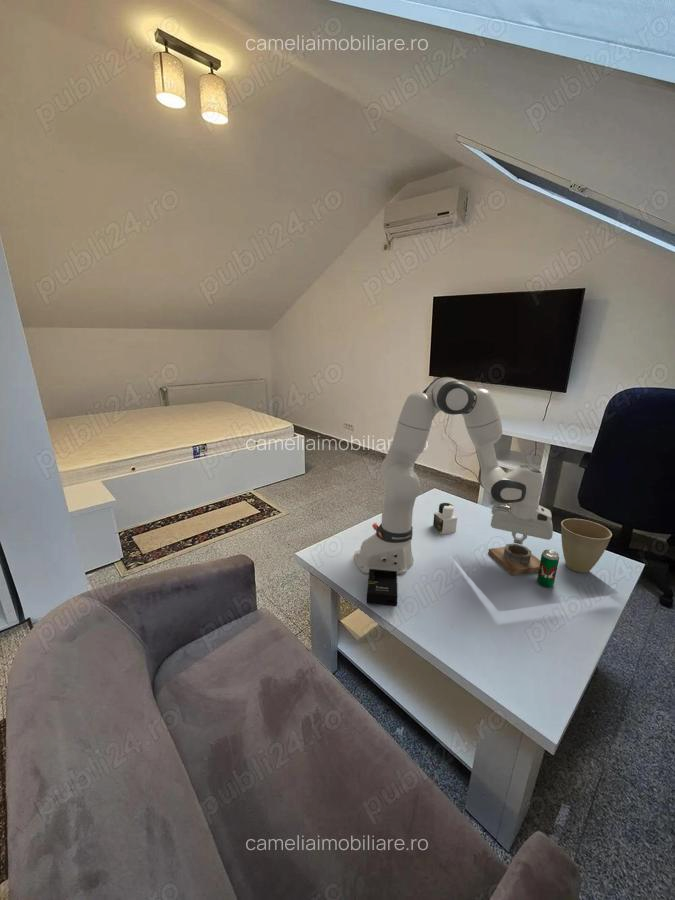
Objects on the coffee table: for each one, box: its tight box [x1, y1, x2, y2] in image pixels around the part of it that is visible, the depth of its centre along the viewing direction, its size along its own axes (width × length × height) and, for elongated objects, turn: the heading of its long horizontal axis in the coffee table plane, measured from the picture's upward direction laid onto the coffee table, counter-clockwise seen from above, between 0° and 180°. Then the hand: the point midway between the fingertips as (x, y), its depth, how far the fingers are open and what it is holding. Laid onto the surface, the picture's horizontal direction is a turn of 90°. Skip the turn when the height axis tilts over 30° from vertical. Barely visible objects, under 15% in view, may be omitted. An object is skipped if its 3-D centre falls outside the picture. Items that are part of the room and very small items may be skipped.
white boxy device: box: [432, 502, 458, 535], centre depth 155 cm, size 7×7×12 cm
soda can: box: [536, 549, 560, 588], centre depth 121 cm, size 5×5×12 cm
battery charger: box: [366, 569, 398, 607], centre depth 118 cm, size 13×10×4 cm
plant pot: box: [560, 518, 613, 574], centre depth 129 cm, size 15×15×16 cm
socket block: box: [487, 543, 541, 576], centre depth 134 cm, size 14×14×5 cm
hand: (517, 543), depth 133 cm, fingers closed
